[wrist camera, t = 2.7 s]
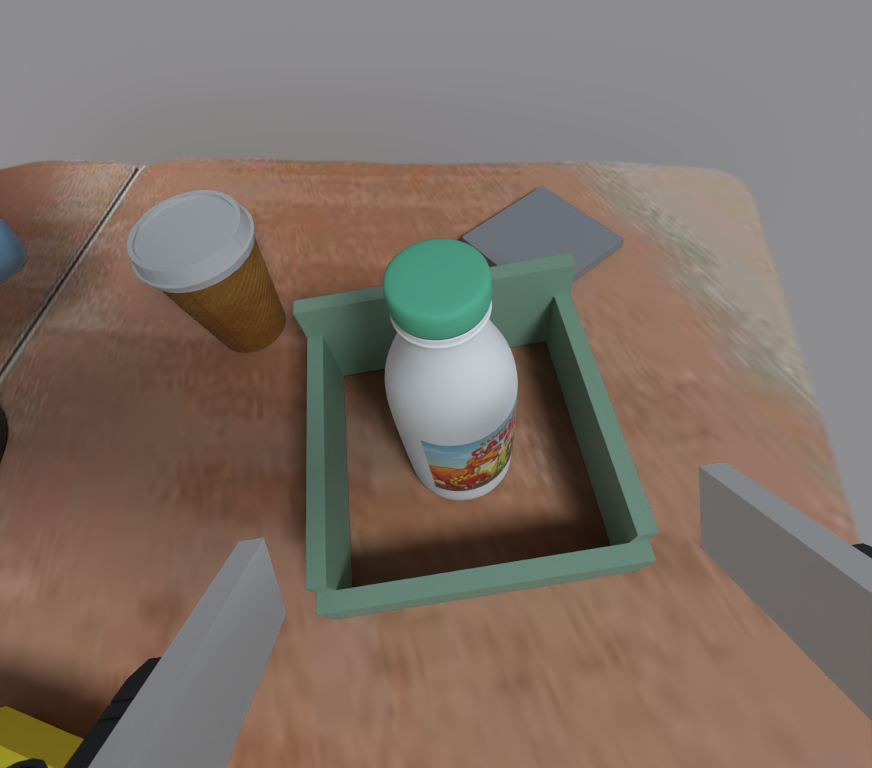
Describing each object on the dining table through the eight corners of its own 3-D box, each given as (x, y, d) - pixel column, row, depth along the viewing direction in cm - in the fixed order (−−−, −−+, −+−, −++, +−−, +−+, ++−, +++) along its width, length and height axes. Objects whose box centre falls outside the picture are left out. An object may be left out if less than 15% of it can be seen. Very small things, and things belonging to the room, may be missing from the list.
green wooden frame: (637, 570, 31) (687, 543, 23) (335, 619, 31) (285, 608, 24) (556, 328, 41) (571, 253, 34) (330, 366, 42) (293, 300, 34)
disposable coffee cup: (244, 278, 48) (177, 176, 38) (320, 303, 46) (271, 200, 35) (185, 349, 44) (92, 256, 34) (264, 381, 42) (190, 291, 31)
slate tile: (462, 244, 48) (461, 236, 47) (541, 193, 50) (542, 185, 49) (538, 306, 43) (539, 299, 42) (621, 246, 45) (624, 239, 44)
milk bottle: (401, 492, 35) (316, 337, 18) (424, 403, 39) (373, 203, 22) (502, 512, 34) (517, 364, 17) (517, 417, 37) (541, 215, 20)
